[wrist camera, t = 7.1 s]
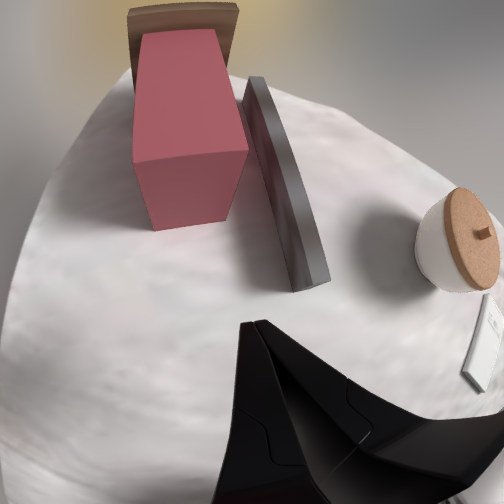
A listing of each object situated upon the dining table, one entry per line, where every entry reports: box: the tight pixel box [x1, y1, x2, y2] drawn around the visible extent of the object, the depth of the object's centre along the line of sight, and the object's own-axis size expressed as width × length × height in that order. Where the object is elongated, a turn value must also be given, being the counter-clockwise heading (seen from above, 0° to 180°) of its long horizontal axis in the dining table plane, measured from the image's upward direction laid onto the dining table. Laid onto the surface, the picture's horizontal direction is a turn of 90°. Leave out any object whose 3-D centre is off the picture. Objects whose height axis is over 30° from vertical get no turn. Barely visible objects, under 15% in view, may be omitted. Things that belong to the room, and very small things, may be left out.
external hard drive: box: [462, 293, 504, 393], centre depth 26 cm, size 2×8×12 cm
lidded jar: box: [414, 188, 500, 293], centre depth 23 cm, size 11×11×9 cm
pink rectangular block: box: [133, 29, 249, 231], centre depth 19 cm, size 14×6×10 cm, turn 13°
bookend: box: [127, 2, 331, 293], centre depth 18 cm, size 23×13×12 cm, turn 13°
